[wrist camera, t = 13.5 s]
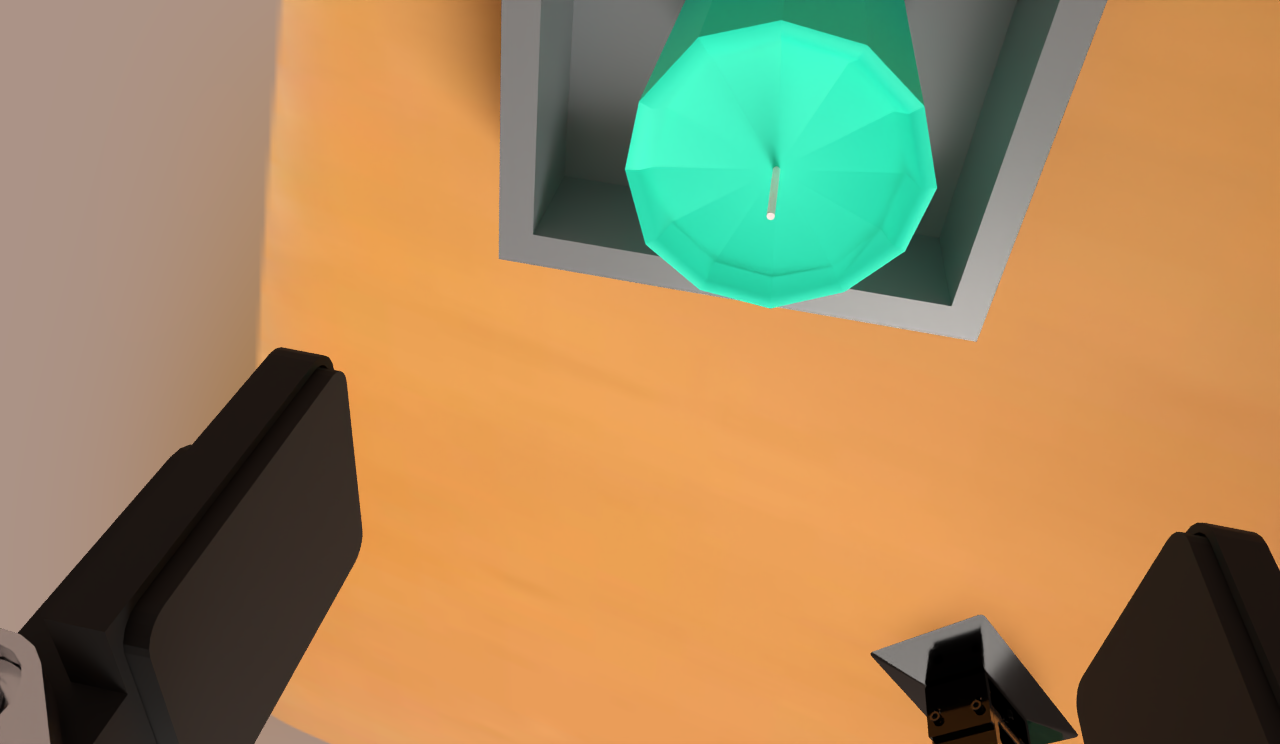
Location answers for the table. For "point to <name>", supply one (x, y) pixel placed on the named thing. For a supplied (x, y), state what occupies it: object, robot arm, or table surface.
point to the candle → (782, 146)
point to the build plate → (973, 687)
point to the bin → (956, 118)
